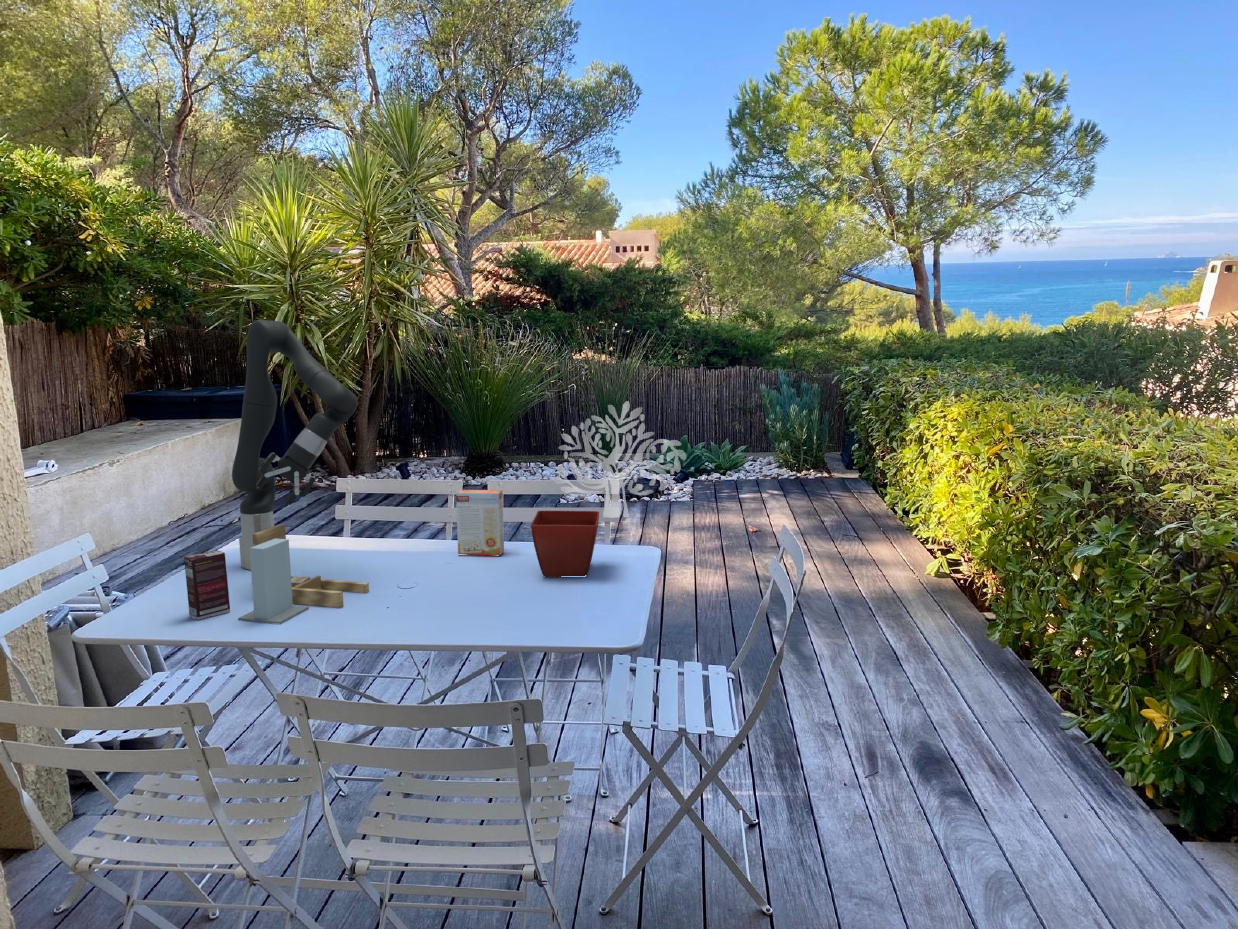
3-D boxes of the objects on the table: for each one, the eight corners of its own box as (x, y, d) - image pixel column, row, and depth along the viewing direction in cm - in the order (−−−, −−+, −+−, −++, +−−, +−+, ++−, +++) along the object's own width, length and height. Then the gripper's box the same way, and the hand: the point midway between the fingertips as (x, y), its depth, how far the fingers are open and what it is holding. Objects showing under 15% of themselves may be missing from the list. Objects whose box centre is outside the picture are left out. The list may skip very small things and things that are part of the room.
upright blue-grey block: (254, 617, 214) (249, 548, 211) (279, 605, 224) (275, 538, 221) (268, 619, 213) (263, 549, 210) (292, 606, 223) (288, 539, 220)
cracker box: (504, 552, 279) (503, 489, 276) (500, 557, 273) (498, 493, 270) (462, 551, 281) (460, 488, 277) (457, 556, 275) (455, 492, 272)
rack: (253, 600, 230) (249, 535, 227) (286, 584, 244) (283, 523, 241) (340, 607, 224) (336, 540, 221) (369, 591, 238) (366, 528, 235)
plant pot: (597, 581, 247) (596, 524, 245) (531, 581, 248) (530, 524, 245) (599, 563, 266) (599, 510, 263) (538, 563, 266) (537, 510, 264)
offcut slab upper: (286, 589, 233) (286, 582, 232) (296, 583, 238) (295, 576, 238) (301, 590, 232) (300, 582, 232) (310, 583, 238) (309, 576, 238)
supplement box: (221, 608, 223) (217, 549, 221) (230, 612, 220) (226, 552, 218) (187, 617, 217) (182, 556, 214) (196, 621, 214) (191, 559, 211)
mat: (238, 620, 214) (238, 618, 214) (268, 605, 226) (268, 603, 226) (280, 624, 211) (280, 622, 211) (308, 609, 223) (308, 606, 223)
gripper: (325, 459, 245) (291, 507, 242) (281, 432, 237) (246, 480, 235) (331, 464, 238) (296, 512, 236) (286, 436, 231) (250, 486, 229)
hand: (271, 496), depth 235 cm, fingers open, 8 cm apart
